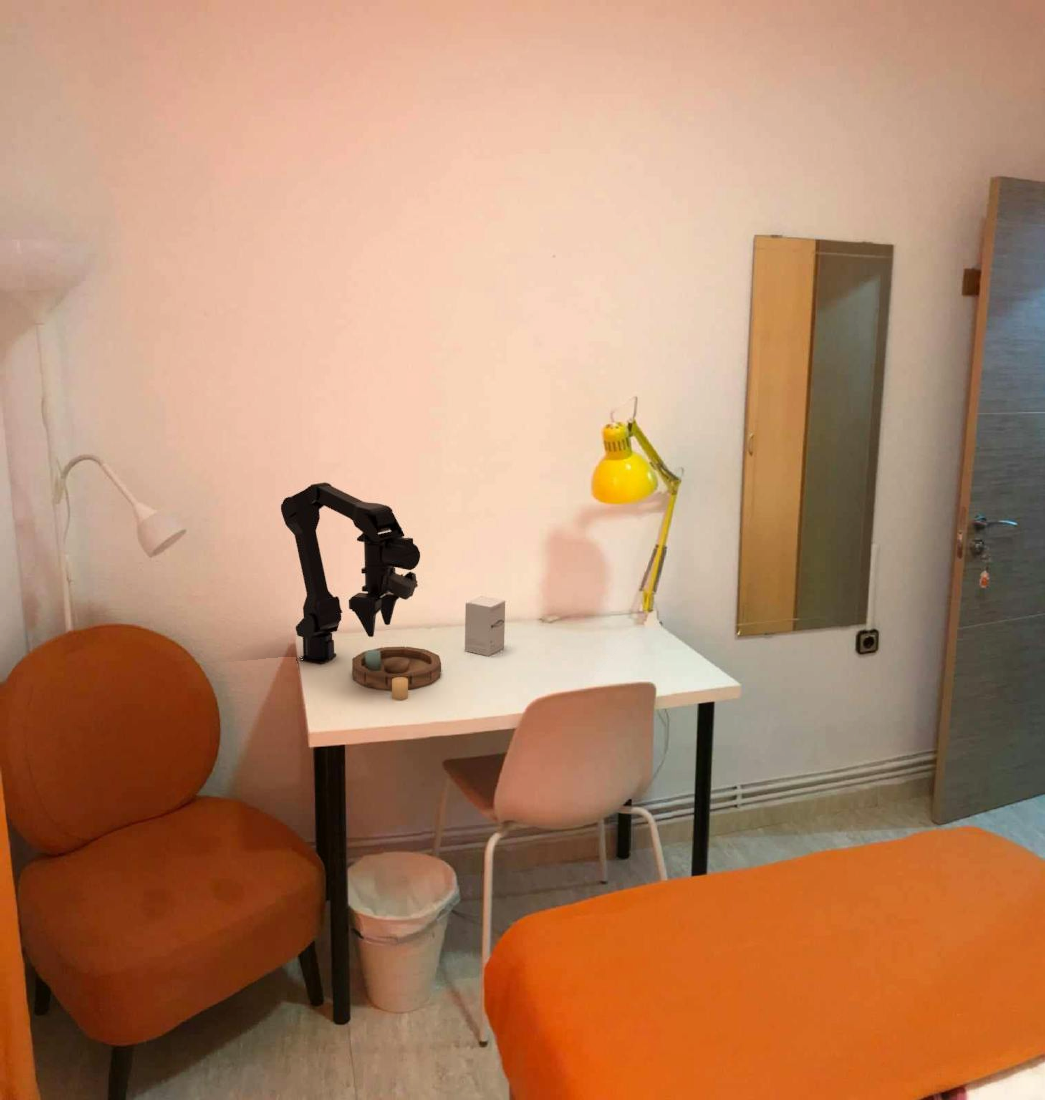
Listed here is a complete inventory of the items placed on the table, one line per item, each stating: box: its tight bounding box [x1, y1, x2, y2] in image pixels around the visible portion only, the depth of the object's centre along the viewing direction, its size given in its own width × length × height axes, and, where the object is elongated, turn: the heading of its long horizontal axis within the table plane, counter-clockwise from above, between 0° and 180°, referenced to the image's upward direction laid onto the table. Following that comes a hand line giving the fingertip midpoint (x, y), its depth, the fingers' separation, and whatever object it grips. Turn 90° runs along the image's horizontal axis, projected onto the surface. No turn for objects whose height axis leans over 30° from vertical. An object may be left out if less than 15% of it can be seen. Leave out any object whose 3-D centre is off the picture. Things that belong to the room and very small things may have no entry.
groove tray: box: [351, 646, 442, 691], centre depth 228 cm, size 20×20×3 cm
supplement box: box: [464, 596, 506, 657], centre depth 245 cm, size 7×7×13 cm
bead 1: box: [364, 649, 381, 671], centre depth 228 cm, size 3×3×4 cm
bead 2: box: [391, 677, 409, 701], centre depth 215 cm, size 3×3×4 cm
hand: (379, 630), depth 223 cm, fingers open, 9 cm apart
